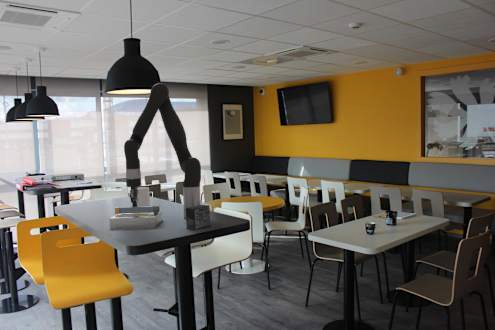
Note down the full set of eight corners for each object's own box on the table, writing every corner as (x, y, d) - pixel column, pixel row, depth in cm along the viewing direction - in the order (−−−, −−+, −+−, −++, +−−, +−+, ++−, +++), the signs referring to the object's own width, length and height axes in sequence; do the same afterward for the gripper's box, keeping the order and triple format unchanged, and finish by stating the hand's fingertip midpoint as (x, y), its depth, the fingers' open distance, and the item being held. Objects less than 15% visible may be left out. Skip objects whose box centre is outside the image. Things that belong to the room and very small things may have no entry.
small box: (201, 225, 198) (201, 204, 198) (211, 226, 194) (210, 205, 194) (185, 229, 190) (185, 207, 190) (195, 230, 186) (194, 208, 186)
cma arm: (160, 211, 206) (160, 205, 206) (158, 212, 203) (158, 206, 203) (117, 212, 206) (116, 206, 206) (115, 214, 202) (114, 207, 202)
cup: (146, 216, 225) (145, 188, 224) (133, 216, 226) (131, 188, 225) (152, 214, 233) (151, 187, 232) (139, 214, 234) (138, 187, 233)
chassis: (162, 220, 214) (161, 209, 214) (155, 227, 196) (154, 216, 196) (120, 221, 213) (120, 211, 213) (110, 228, 195) (109, 217, 195)
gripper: (128, 176, 214) (130, 208, 215) (123, 178, 201) (125, 212, 202) (142, 176, 215) (144, 207, 216) (138, 178, 202) (140, 212, 203)
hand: (135, 210), depth 209 cm, fingers closed
